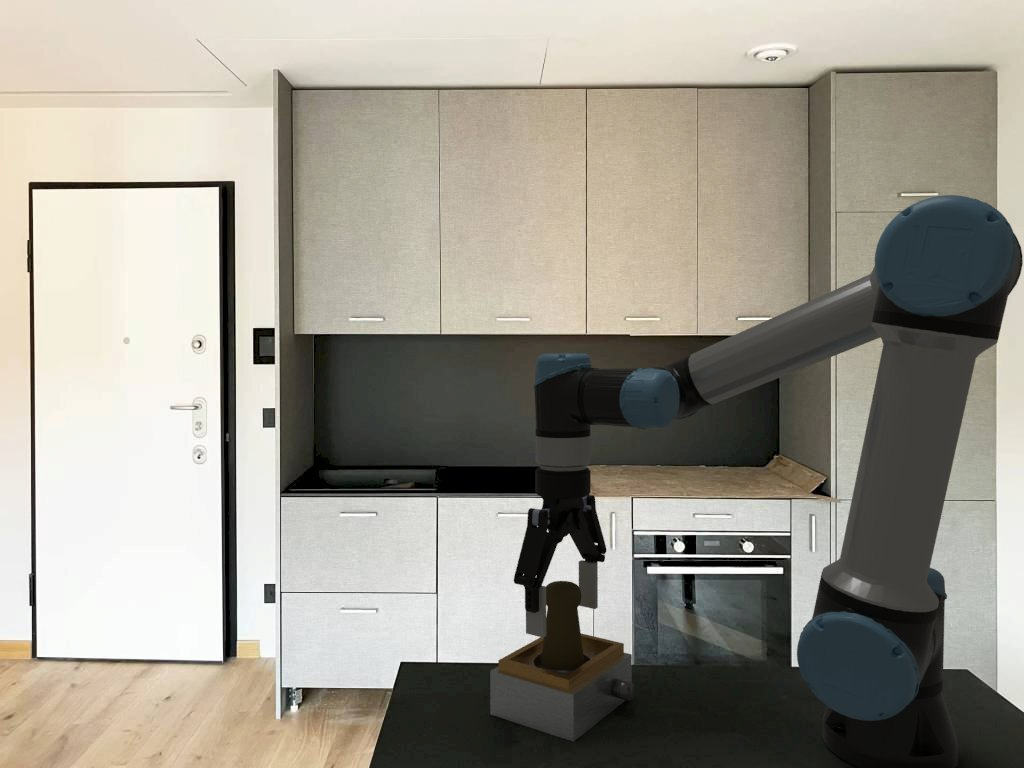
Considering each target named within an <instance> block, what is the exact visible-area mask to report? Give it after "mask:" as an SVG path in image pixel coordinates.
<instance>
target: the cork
mask: <svg viewBox="0 0 1024 768" xmlns="http://www.w3.org/2000/svg"><path fill="white" fill-rule="evenodd" d="M580 602H581V590H580V588H579V584H576V583H575V582H573V581H569V580H567V581H566V580H556V581H552V582H550V583H548V584H547V585H546V636H545V637H544V640H543V647H542V655H541V664H542V665H543V666H545V667H546V668H549V669H553V670H559V671H568V670H574V669H577V668H578V667H580V666H581V665H583V664H584V655H583V647H582V640H581V626H580V625H581V623H580V618H579V610H578V607H579V605H580Z"/></svg>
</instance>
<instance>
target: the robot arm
mask: <svg viewBox="0 0 1024 768" xmlns="http://www.w3.org/2000/svg"><path fill="white" fill-rule="evenodd" d="M1019 241H1020V240H1019V239H1018V237H1017V235H1016V234H1015V232H1014V230H1013V228H1012V226H1011V223H1010V222H1009V220H1007V218H1006V216H1004V214H1003V213H1002V212H1001V211H999V209H996V208H995V207H994V206H993V205H991V204H989V203H987V202H984V201H982V200H979V199H976V198H974V197H969V196H963V195H956V194H948V195H947V194H945V195H937V196H932V197H928V198H924V199H922V200H918V201H917V202H914V203H913V204H910V205H909V206H908V207H906V208H904V209H903V210H902V211H901V212H899V213H898V214H897V215H896V216H895V217H893V219H891V221H890V222H889V223H888V224H887V225H886V226H885V228H884V230H883V232H882V233H881V235H880V238H879V239H878V242H877V245H876V249H875V253H874V254H875V255H874V267H873V269H872V271H871V272H870V273H869V274H867V275H864V276H863V277H861V278H858V279H856V280H854V281H852V282H849V283H847V284H845V285H842V286H841V287H838V288H836V289H834V290H831V291H830V292H827V293H826V294H823V295H820V296H818V297H816V298H814V299H811V300H809V301H807V302H804V303H803V304H802V303H801V304H800V305H798V306H796V307H793V308H791V309H790V310H787V311H785V312H783V313H781V314H778V315H776V316H774V317H772V318H770V319H766V320H765V321H762V322H760V323H758V324H756V325H754V326H751V327H749V328H747V329H745V330H742V331H739V332H738V333H736V334H734V335H732V336H729V337H727V338H724V339H722V340H720V341H718V342H715V343H714V344H712V345H709V346H707V347H705V348H702V349H700V350H698V351H695V352H694V353H692V354H690V355H688V356H685V357H682V358H680V359H678V360H676V361H673V362H671V363H669V364H666V365H662V366H653V367H651V366H650V367H636V368H635V367H634V368H633V367H631V368H596V367H592V364H591V357H590V356H589V354H587V353H571V352H570V353H542V354H540V355H539V356H538V357H537V358H536V361H535V377H534V384H533V389H534V400H535V402H534V405H535V407H534V408H535V443H534V444H535V463H536V464H537V465H538V467H537V468H536V469H535V477H534V479H535V482H534V483H535V486H534V488H535V493H536V495H537V496H539V497H540V498H541V499H542V505H541V508H532V507H531V508H529V509H528V511H527V520H526V523H527V524H526V529H525V532H524V537H523V541H522V545H521V549H520V552H519V556H518V561H517V564H516V565H517V566H516V569H515V572H514V576H513V583H514V584H515V585H520V586H523V587H524V609H525V634H527V635H530V636H535V637H539V638H540V637H542V638H544V637H545V636H546V617H547V605H546V586H547V585H546V586H545V585H543V583H544V580H545V578H546V576H547V573H548V570H549V568H550V564H551V562H552V560H553V557H554V555H555V551H556V549H557V547H558V544H560V543H561V542H563V540H564V537H567V536H568V535H569V536H570V537H571V539H572V541H573V543H574V545H575V547H576V548H577V549H576V550H577V551H578V553H579V554H580V557H581V558H582V560H579V561H578V586H579V588H580V590H581V602H580V605H579V606H580V607H583V608H588V609H591V610H592V609H593V610H596V609H598V607H599V606H598V605H599V600H598V599H599V598H598V595H599V592H598V591H599V590H598V587H599V586H598V585H599V584H598V582H599V580H598V577H599V574H598V564H599V563H604V562H605V559H606V553H607V546H606V541H605V539H604V535H603V532H602V531H603V530H602V528H601V523H600V520H599V517H598V513H597V505H596V497H595V496H596V495H594V494H591V486H592V485H591V483H592V482H591V481H592V480H591V479H592V478H591V469H590V468H589V467H587V466H588V465H590V464H591V462H592V459H591V458H592V456H591V455H592V454H591V453H592V452H591V450H592V449H591V426H597V425H600V426H611V427H624V428H637V429H638V430H647V429H664V428H666V427H667V428H668V427H669V426H671V424H672V422H673V420H682V419H686V418H690V417H692V416H694V415H695V414H697V413H698V412H700V411H701V410H703V409H705V408H707V407H710V406H712V405H715V404H717V403H719V402H721V401H724V400H727V399H730V398H733V397H735V396H737V395H740V394H741V393H744V392H746V391H747V392H748V391H749V390H752V389H754V388H757V387H760V386H762V385H764V384H768V383H769V382H772V381H775V380H777V379H780V378H781V377H784V376H787V375H790V374H792V373H795V372H797V371H799V370H803V369H805V368H807V367H811V366H812V365H815V364H817V363H820V362H822V361H825V360H829V359H830V358H832V357H835V356H837V355H841V354H843V353H845V352H847V351H850V350H853V349H855V348H857V347H859V346H862V345H865V344H867V343H868V344H869V343H870V342H872V341H875V340H878V339H881V341H882V344H883V345H882V351H881V354H880V358H879V364H878V368H877V374H876V379H875V383H874V388H873V395H872V398H871V402H870V403H871V404H870V408H869V413H868V414H869V415H868V418H867V419H868V420H867V423H866V426H865V427H866V428H865V433H864V438H863V442H862V448H861V452H860V459H859V462H858V466H857V472H856V478H855V483H854V487H853V492H852V496H851V497H852V499H851V502H850V507H849V511H848V516H847V523H846V526H845V532H844V537H843V542H842V546H841V551H840V557H839V558H838V559H837V560H835V561H834V562H832V563H830V564H827V565H826V566H824V567H823V568H822V570H821V575H820V579H819V584H818V589H817V594H816V599H815V604H814V609H813V613H812V616H811V619H810V620H809V621H807V623H806V624H805V626H804V627H802V630H801V632H800V635H799V639H798V641H797V646H796V647H797V648H796V659H797V664H798V669H799V672H800V675H801V677H802V679H803V681H804V682H805V683H806V684H807V686H808V688H809V689H810V690H811V692H812V694H813V695H814V696H815V697H816V698H817V699H818V700H819V701H821V703H823V704H824V705H825V706H826V708H825V710H824V712H823V716H822V724H821V725H822V726H821V727H822V728H821V729H822V730H821V733H822V740H823V743H824V744H825V746H826V747H827V748H828V749H829V750H830V751H831V752H832V753H833V754H834V755H836V756H837V757H838V758H840V759H842V760H844V761H845V762H847V763H849V764H851V765H853V766H856V767H857V768H957V766H958V763H959V742H958V738H957V735H956V732H955V729H954V725H953V723H952V719H951V716H950V713H949V710H948V707H947V704H946V701H945V698H944V694H943V693H944V691H943V689H944V688H943V687H944V658H945V657H944V655H945V654H944V653H945V651H944V648H945V641H944V640H945V608H946V607H945V605H946V603H945V602H946V600H947V599H948V595H947V593H946V582H945V577H944V576H943V574H942V573H941V572H940V571H939V570H937V569H935V568H932V567H931V564H932V560H933V555H934V550H935V546H936V542H937V536H938V533H939V527H940V523H941V518H942V513H943V509H944V505H945V501H946V495H947V491H948V486H949V482H950V478H951V474H952V468H953V464H954V459H955V455H956V450H957V446H958V442H959V441H958V440H959V437H960V436H959V435H960V432H961V427H962V423H963V418H964V415H965V414H964V413H965V409H966V405H967V400H968V396H969V391H970V387H971V381H972V378H973V373H974V370H975V364H976V360H977V358H978V357H979V356H980V355H981V354H982V353H984V352H985V351H987V350H988V349H990V348H992V347H993V346H995V345H997V343H998V341H999V337H1000V333H1001V329H1002V323H1003V320H1004V315H1005V311H1006V306H1007V301H1008V297H1009V296H1010V294H1011V293H1012V291H1013V289H1015V287H1016V286H1017V284H1018V281H1019V279H1020V276H1021V273H1022V267H1023V251H1022V246H1021V243H1020V242H1019ZM598 562H599V563H598ZM579 606H578V607H579Z"/></svg>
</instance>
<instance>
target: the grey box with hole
mask: <svg viewBox="0 0 1024 768" xmlns="http://www.w3.org/2000/svg"><path fill="white" fill-rule="evenodd" d="M543 640H544V638H542V637H539V638H537V639H535V640H533V641H531V642H529V643H527V644H526V645H524V646H522V647H520V648H518V649H516V650H515V651H513V652H511V653H509V654H507V655H506V656H504V657H502V658H500V659H499V660H498V666H496V667H494V668H492V669H491V670H489V673H490V674H489V677H490V679H489V680H490V682H489V683H490V684H489V685H490V686H489V687H490V688H489V689H490V693H489V695H490V696H489V697H490V699H489V700H490V702H489V703H490V706H489V708H490V713H489V714H490V716H494V717H497V718H500V719H504V720H505V721H509V722H511V723H516V724H518V725H521V726H523V727H527V728H530V729H533V730H537V731H538V732H539V731H540V732H543V733H545V734H549V735H552V736H554V737H557V738H560V739H563V740H566V741H567V740H568V741H570V742H573V743H574V742H575V741H577V740H578V739H579V738H581V737H582V736H583V735H584V734H586V733H587V732H588V731H589V730H590V729H592V728H593V727H595V726H596V725H597V724H598V723H600V721H602V720H603V719H605V718H606V717H607V716H608V715H610V714H611V713H612V712H613V711H614V710H616V709H617V708H618V707H619V706H621V705H623V703H624V702H627V701H628V702H631V701H632V700H633V698H634V696H635V692H636V687H635V684H634V683H633V682H632V680H633V679H632V678H633V676H632V674H633V669H632V668H633V667H632V666H633V665H632V664H633V662H632V661H633V656H632V655H633V654H631V653H628V652H625V644H624V643H622V642H621V641H620V642H618V641H614V640H611V639H606V638H603V637H597V636H594V635H591V634H590V635H589V634H586V633H581V640H582V647H583V655H584V664H583V665H581V666H580V667H578V668H577V669H574V670H568V671H559V670H553V669H549V668H546V667H545V666H543V665H542V664H541V655H542V647H543Z"/></svg>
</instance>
